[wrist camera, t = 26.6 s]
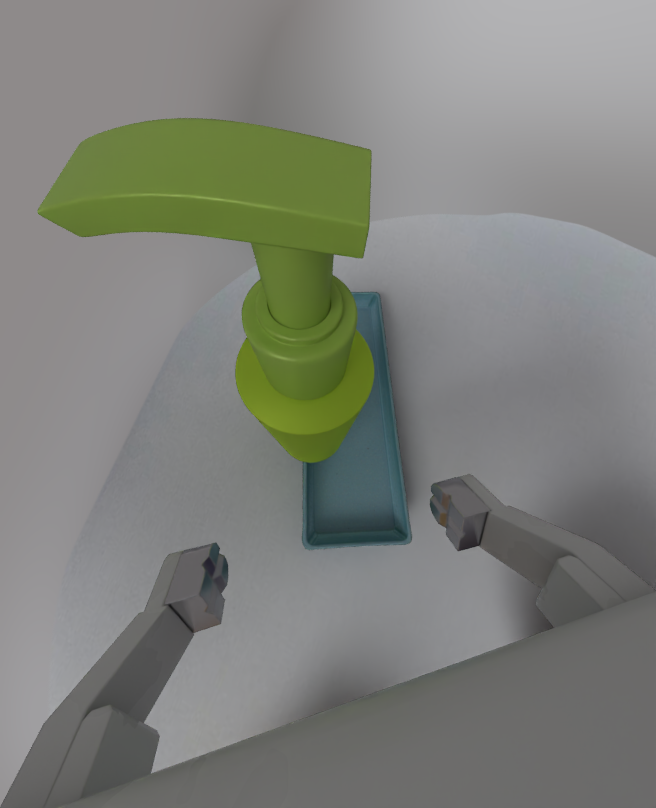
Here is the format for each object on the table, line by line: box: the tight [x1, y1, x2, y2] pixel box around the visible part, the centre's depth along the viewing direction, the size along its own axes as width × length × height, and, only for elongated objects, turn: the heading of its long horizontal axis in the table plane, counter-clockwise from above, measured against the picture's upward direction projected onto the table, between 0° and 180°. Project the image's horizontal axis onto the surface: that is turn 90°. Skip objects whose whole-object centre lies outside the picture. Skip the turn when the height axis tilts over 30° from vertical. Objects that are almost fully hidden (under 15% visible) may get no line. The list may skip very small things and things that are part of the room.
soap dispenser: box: [38, 118, 374, 463], centre depth 13 cm, size 6×7×20 cm
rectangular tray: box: [302, 292, 412, 550], centre depth 25 cm, size 26×9×2 cm, turn 2°
